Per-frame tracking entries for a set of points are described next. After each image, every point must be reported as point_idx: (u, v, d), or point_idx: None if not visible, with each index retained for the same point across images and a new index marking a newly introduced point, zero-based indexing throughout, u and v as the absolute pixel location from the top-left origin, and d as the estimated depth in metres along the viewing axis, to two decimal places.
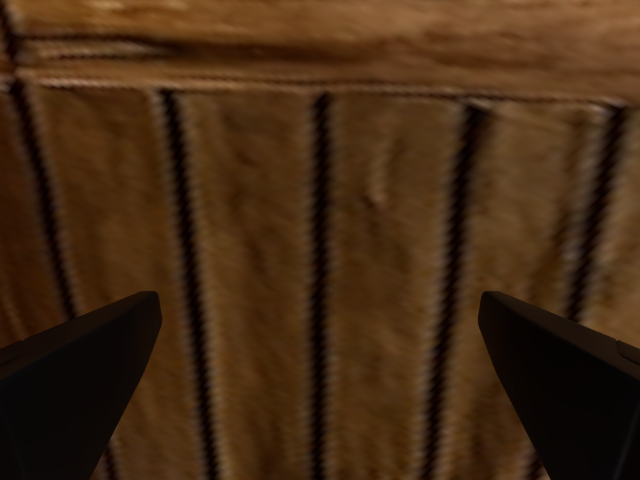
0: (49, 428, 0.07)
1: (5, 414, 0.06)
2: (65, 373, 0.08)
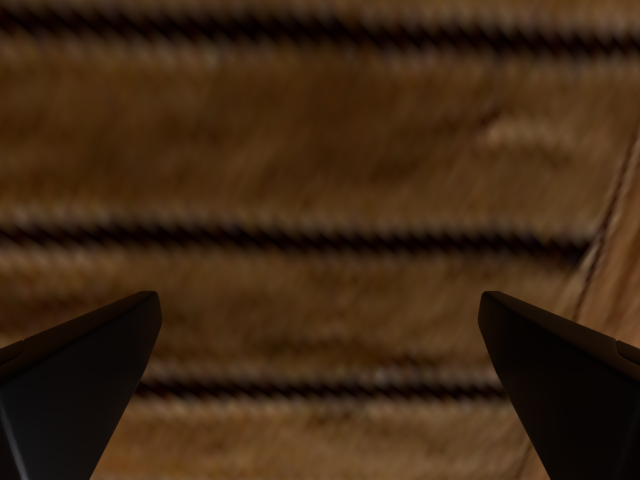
0: (49, 428, 0.07)
1: (5, 414, 0.06)
2: (65, 373, 0.08)
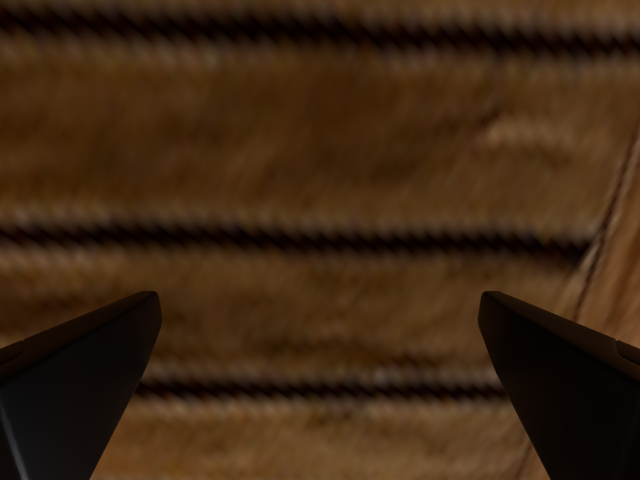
0: (49, 428, 0.07)
1: (5, 414, 0.06)
2: (65, 373, 0.08)
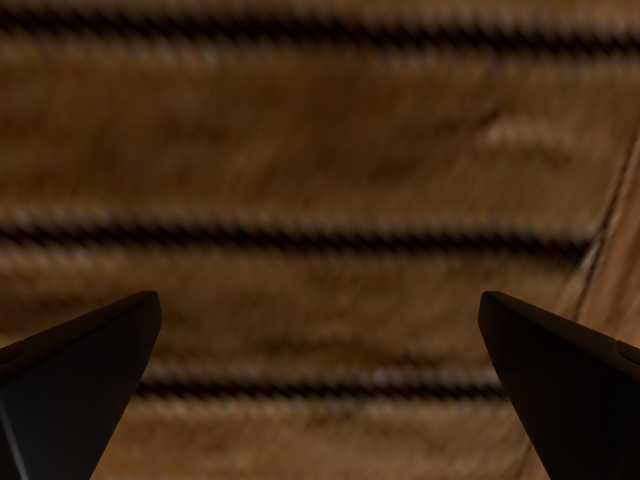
0: (49, 428, 0.07)
1: (5, 414, 0.06)
2: (65, 373, 0.08)
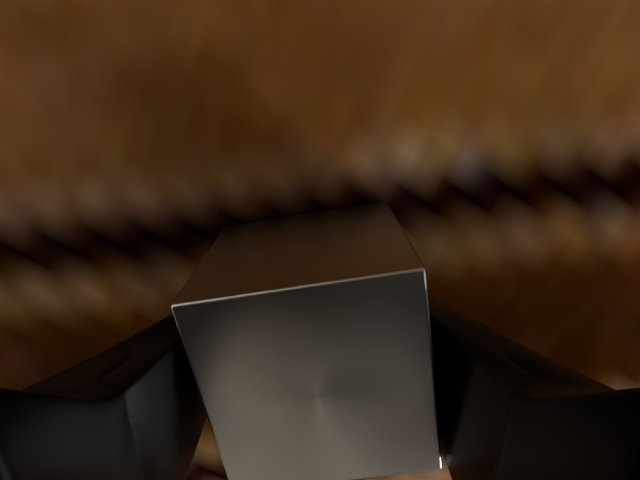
0: (160, 428, 0.07)
1: (132, 414, 0.06)
2: (171, 373, 0.08)
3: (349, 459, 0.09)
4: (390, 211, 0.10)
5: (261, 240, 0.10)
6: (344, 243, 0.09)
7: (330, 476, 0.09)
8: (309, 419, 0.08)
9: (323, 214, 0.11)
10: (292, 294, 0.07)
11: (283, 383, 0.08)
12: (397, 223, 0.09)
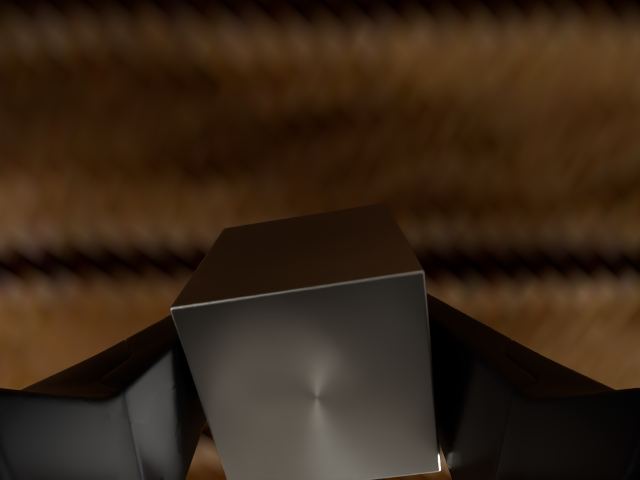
0: (160, 428, 0.07)
1: (132, 414, 0.06)
2: (171, 373, 0.08)
3: (348, 461, 0.09)
4: (389, 213, 0.10)
5: (260, 242, 0.10)
6: (343, 245, 0.09)
7: (329, 478, 0.09)
8: (308, 421, 0.08)
9: (322, 216, 0.11)
10: (291, 297, 0.07)
11: (283, 385, 0.08)
12: (396, 225, 0.09)
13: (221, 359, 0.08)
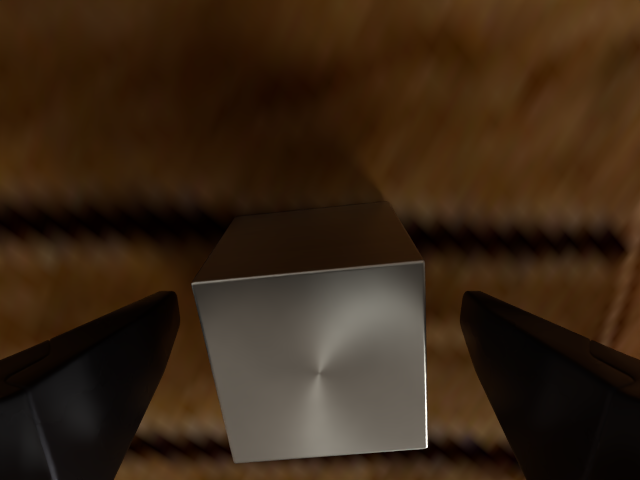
0: (77, 428, 0.07)
1: (38, 414, 0.06)
2: (92, 373, 0.08)
3: (344, 435, 0.09)
4: (392, 210, 0.11)
5: (271, 230, 0.11)
6: (349, 236, 0.10)
7: (325, 450, 0.10)
8: (310, 396, 0.09)
9: (329, 210, 0.12)
10: (303, 278, 0.08)
11: (289, 361, 0.09)
12: (398, 221, 0.10)
13: (234, 333, 0.08)
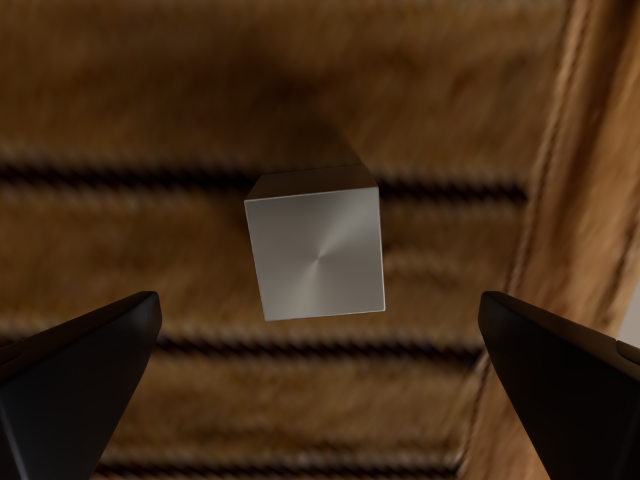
0: (49, 428, 0.07)
1: (5, 414, 0.06)
2: (65, 373, 0.08)
3: (333, 301, 0.15)
4: (365, 167, 0.17)
5: (287, 179, 0.17)
6: (337, 179, 0.15)
7: (321, 312, 0.15)
8: (312, 273, 0.15)
9: (324, 169, 0.18)
10: (309, 197, 0.14)
11: (300, 250, 0.15)
12: (368, 172, 0.16)
13: (268, 232, 0.14)
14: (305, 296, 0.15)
